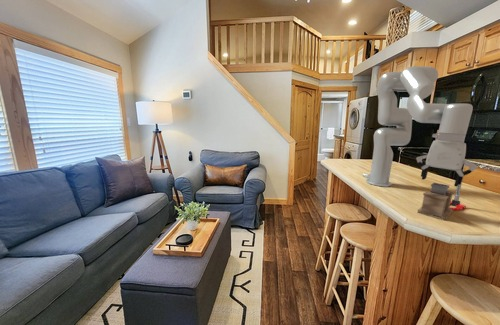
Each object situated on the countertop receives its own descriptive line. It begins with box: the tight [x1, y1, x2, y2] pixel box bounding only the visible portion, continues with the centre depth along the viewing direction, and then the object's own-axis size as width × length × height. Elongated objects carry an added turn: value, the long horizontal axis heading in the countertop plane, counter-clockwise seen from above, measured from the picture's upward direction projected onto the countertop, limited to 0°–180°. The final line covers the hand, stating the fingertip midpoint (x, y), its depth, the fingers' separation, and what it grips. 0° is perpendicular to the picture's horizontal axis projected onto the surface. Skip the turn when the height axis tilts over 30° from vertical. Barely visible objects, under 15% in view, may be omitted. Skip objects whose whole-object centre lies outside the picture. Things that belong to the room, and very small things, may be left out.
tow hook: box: [449, 182, 467, 212], centre depth 88 cm, size 8×13×9 cm
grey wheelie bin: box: [430, 182, 450, 196], centre depth 82 cm, size 5×5×10 cm
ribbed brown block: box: [417, 188, 455, 221], centre depth 83 cm, size 8×14×8 cm, turn 128°
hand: (439, 182), depth 82 cm, fingers open, 9 cm apart
